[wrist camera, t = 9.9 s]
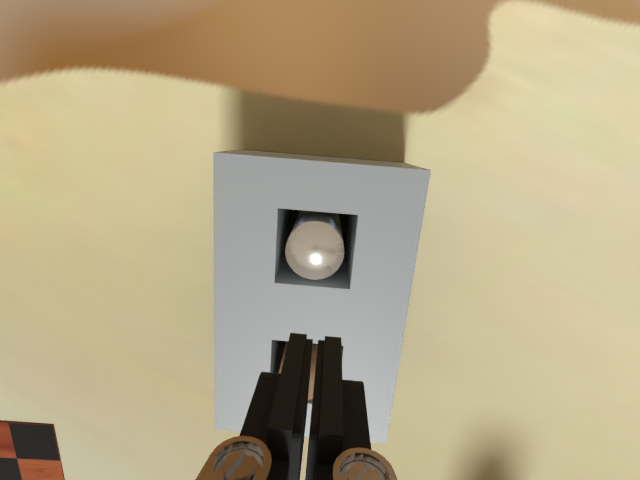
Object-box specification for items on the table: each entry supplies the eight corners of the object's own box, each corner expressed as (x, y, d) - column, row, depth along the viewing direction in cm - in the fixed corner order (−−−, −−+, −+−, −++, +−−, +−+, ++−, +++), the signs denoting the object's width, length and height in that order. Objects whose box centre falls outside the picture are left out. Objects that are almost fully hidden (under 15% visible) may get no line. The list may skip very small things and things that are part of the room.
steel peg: (342, 204, 31) (347, 226, 23) (338, 247, 32) (341, 282, 24) (297, 201, 31) (286, 220, 23) (294, 244, 32) (283, 277, 24)
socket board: (404, 162, 30) (430, 170, 22) (373, 379, 36) (385, 443, 28) (243, 149, 30) (213, 152, 22) (239, 368, 36) (214, 429, 28)
